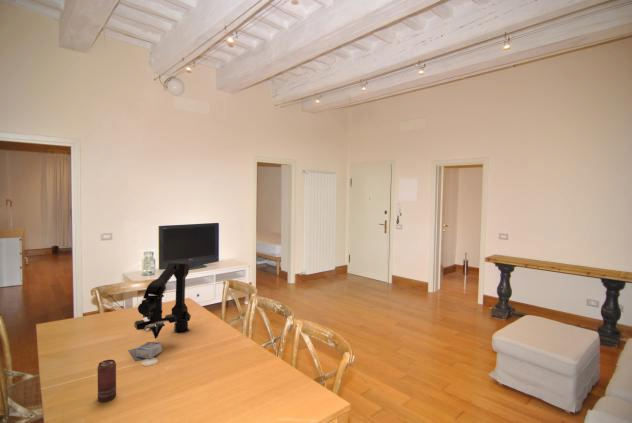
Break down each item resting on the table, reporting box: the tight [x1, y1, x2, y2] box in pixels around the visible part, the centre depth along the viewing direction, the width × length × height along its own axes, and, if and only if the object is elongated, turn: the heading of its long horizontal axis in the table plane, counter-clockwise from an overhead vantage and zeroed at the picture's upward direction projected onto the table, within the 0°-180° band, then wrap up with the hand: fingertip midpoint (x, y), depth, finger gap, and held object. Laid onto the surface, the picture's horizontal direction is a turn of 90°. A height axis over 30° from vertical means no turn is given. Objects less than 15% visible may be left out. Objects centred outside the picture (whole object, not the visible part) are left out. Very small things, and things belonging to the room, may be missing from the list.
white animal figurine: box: [141, 317, 156, 332], centre depth 204 cm, size 6×8×12 cm
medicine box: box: [136, 341, 163, 359], centre depth 171 cm, size 8×4×9 cm
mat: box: [128, 347, 159, 362], centre depth 174 cm, size 10×14×1 cm
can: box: [97, 359, 117, 403], centre depth 136 cm, size 6×6×14 cm
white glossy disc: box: [141, 357, 159, 367], centre depth 164 cm, size 7×7×1 cm
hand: (155, 338), depth 177 cm, fingers closed
